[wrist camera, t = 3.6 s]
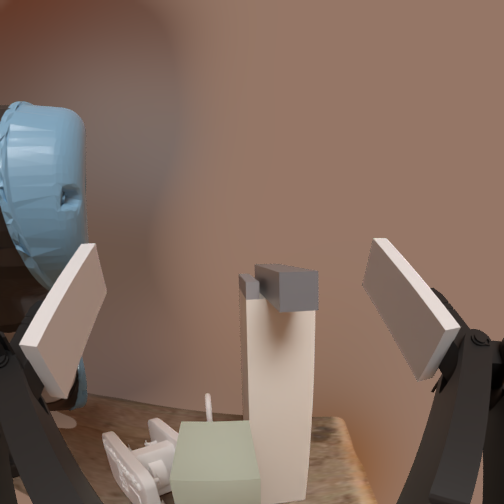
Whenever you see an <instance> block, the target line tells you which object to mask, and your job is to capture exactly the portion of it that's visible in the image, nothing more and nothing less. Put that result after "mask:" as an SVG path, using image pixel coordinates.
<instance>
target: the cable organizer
mask: <svg viewBox="0 0 504 504" xmlns="http://www.w3.org/2000/svg"><path fill="white" fill-rule="evenodd" d="M148 428H149V434H150V439H151V442H149V443H147V442H146V443H144V444H145V446H146V447H143V448H140V449H136V450H133V451H132V450H131V448H130V447H128V448H127V447H126V445H125V444H124V443H123V442H122V441H121V440H120V438H119V437H118V436H117V435H116V434H115V433H114V432H113V431H110V432H106V433H102V441H103V444H104V447H105V450H106V454H107V457H108V461H109V464H110V467H111V471H112V474H113V476H114V479H115V481H116V482H117V484H118V485H119V487H120V488H121V489H122V491H123V492H124V493H125V495H126V496H127V497H128V498H129V500H130V501H131V502H132V504H165V503H164V501H163V500H162V501H160V497H159V496H160V495H163V494H165V493H168V492H170V491H172V490H171V485H170V481H169V479H170V474H171V469H172V464H173V459H174V454H175V449H176V444H177V439H178V435H179V434H178V433H177V432H176V431H174V430H173V429H172V428H171V427H169V426H168V425H167V424H166V423H164V422H163V421H162V420H161V419H159V418H154V419H150V420H148ZM145 441H146V440H145ZM128 446H129V444H128ZM161 502H162V503H161Z"/></svg>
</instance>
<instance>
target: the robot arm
mask: <svg viewBox="0 0 504 504" xmlns="http://www.w3.org/2000/svg"><path fill="white" fill-rule="evenodd" d="M362 286H363V287H364V289H365V291H366V292H367V294H368V295H369V297H370V299H371V300H372V302H373V304H374V305H375V307H376V308H377V310H378V312H379V314H380V316H381V317H382V319H383V320H384V322H385V324H386V325H387V328H388V329H389V331H390V333H391V334H392V336H393V338H394V340H395V341H396V343H397V345H398V347H399V349H400V350H401V352H402V354H403V356H404V358H405V359H406V361H407V363H408V365H409V367H410V369H411V370H412V372H413V374H414V376H415V378H416V380H417V381H422V380H426V379H430V378H432V377H433V376H434V374H435V372H436V371H437V369H438V368H439V369H440V371H441V372H442V375H441V377H440V378H439V380H438V382H437V383H436V384H435V386H434V387H433V389H432V391H431V392H434V391H435V389H436V393H435V397H434V401H433V405H432V408H431V411H430V415H429V418H428V422H427V425H426V428H425V431H424V434H423V437H422V440H421V443H420V446H419V449H418V452H417V455H416V457H415V460H414V463H413V466H412V468H411V471H410V473H409V476H408V478H407V480H406V483H405V485H404V488H403V490H402V492H401V494H400V497H399V499H398V501H397V503H396V504H470V502H471V499H472V495H473V491H474V488H475V484H476V479H477V475H478V471H479V467H480V462H481V457H482V452H483V503H482V504H504V338H503V340H502V342H500V341H491V340H490V338H489V336H487V335H486V334H485V333H484V332H482V331H480V330H476V329H470V328H469V327H468V326H467V325H466V323H465V322H464V321H463V320H462V318H461V317H460V316H459V314H458V313H457V312H456V311H455V309H454V310H453V307H452V306H451V304H449V303H448V301H447V300H446V298H445V297H444V296H443V295H442V294H441V293H440V292H438V291H437V290H435V289H434V288H429V286H428V285H427V284H426V283H425V282H424V281H423V279H422V278H421V277H420V276H419V274H418V273H417V272H416V271H415V270H414V269H413V268H412V267H411V265H410V264H409V263H408V262H407V261H406V260H405V258H404V257H403V256H402V255H401V254H400V253H399V252H398V250H397V249H396V248H395V247H394V246H393V245H392V244H391V243H390V242H389V241H388V240H387V239H386V238H373V241H372V246H371V250H370V255H369V259H368V263H367V268H366V271H365V275H364V279H363V283H362ZM106 293H107V290H106V286H105V282H104V278H103V274H102V270H101V266H100V261H99V257H98V253H97V248H96V244H95V243H93V244H89V243H88V226H87V209H86V130H85V126H84V123H83V121H82V119H81V118H80V117H79V116H78V115H77V114H76V113H75V112H74V111H72V110H69V109H67V108H60V107H48V106H34V105H32V104H30V103H28V102H15V103H12V104H11V105H0V504H18V503H17V499H16V494H15V489H14V484H13V479H12V477H16V476H20V477H21V479H22V481H23V484H24V486H25V488H26V490H27V492H28V495H29V497H30V499H31V501H32V503H33V504H103V503H102V502H101V500H100V499H99V497H98V496H97V494H96V493H95V491H94V490H93V488H92V487H91V485H90V484H89V482H88V481H87V479H86V477H85V476H84V474H83V473H82V471H81V469H80V468H79V466H78V464H77V463H76V461H75V459H74V457H73V456H72V454H71V452H70V450H69V448H68V447H67V445H66V443H65V441H64V439H63V437H62V435H61V433H60V431H59V429H58V427H57V426H56V423H55V421H54V419H53V417H52V415H51V413H50V411H58V410H74V409H76V408H82V407H84V406H85V404H86V402H87V390H86V389H87V382H86V375H85V368H84V363H83V359H82V353H83V350H84V348H85V345H86V343H87V340H88V337H89V335H90V332H91V330H92V327H93V325H94V322H95V320H96V317H97V315H98V312H99V309H100V307H101V305H102V303H103V300H104V298H105V295H106Z"/></svg>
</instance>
